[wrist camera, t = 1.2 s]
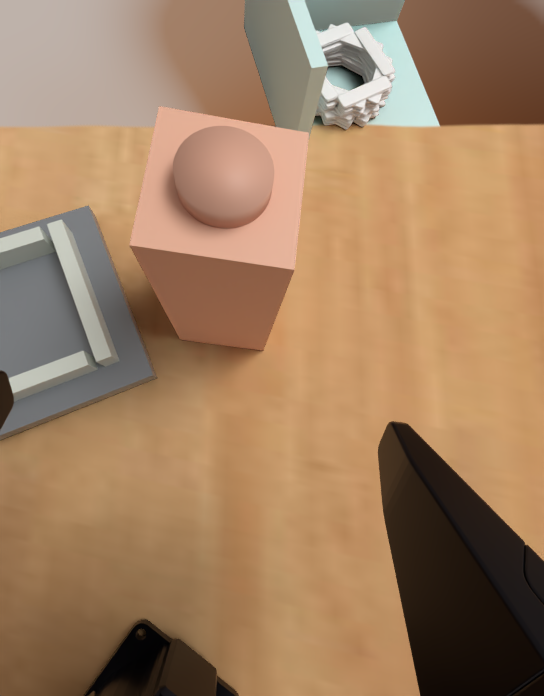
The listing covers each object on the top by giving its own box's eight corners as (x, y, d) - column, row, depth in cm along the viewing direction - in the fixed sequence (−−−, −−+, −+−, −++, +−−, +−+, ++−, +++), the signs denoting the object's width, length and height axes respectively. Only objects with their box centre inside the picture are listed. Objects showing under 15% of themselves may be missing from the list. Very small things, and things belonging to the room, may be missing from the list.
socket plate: (157, 378, 23) (147, 370, 20) (-44, 457, 21) (-83, 460, 18) (95, 216, 24) (79, 190, 22) (-95, 275, 22) (-138, 254, 20)
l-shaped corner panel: (289, 168, 27) (311, 68, 19) (244, 27, 29) (248, -111, 22) (445, 140, 28) (519, 38, 21) (392, 10, 31) (442, -123, 23)
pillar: (263, 350, 24) (298, 258, 11) (180, 339, 23) (122, 231, 11) (272, 274, 25) (314, 113, 12) (193, 262, 24) (154, 85, 12)
